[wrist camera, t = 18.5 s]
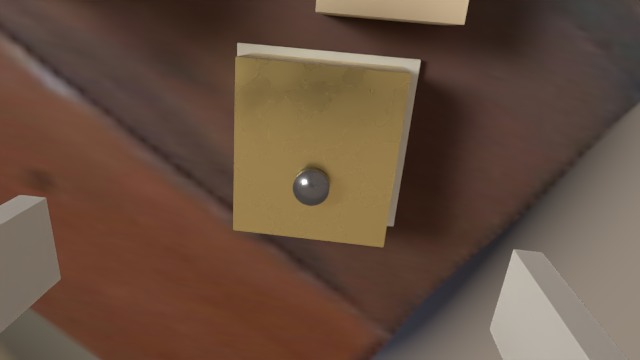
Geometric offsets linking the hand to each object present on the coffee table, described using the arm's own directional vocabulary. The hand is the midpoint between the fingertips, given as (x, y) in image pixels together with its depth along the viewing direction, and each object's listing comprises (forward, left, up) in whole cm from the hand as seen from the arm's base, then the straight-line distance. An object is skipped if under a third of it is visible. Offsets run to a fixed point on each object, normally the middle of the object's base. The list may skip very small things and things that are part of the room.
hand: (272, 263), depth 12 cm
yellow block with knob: (0, 0, -16) cm, 16 cm away
